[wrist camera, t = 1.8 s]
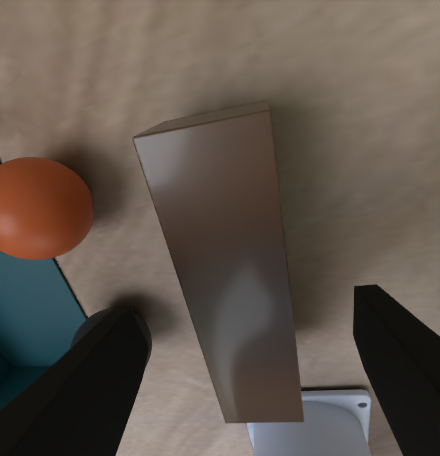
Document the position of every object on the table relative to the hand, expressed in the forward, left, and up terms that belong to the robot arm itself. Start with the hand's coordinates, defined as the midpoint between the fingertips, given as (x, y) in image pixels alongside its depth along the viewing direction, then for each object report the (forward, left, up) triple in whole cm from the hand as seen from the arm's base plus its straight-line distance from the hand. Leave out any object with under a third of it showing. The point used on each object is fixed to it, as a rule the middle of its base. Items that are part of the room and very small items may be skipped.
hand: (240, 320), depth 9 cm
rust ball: (+4, +7, -3) cm, 9 cm away
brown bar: (0, 0, -5) cm, 5 cm away
